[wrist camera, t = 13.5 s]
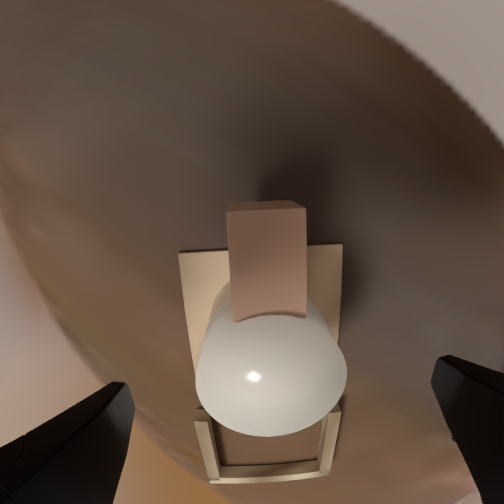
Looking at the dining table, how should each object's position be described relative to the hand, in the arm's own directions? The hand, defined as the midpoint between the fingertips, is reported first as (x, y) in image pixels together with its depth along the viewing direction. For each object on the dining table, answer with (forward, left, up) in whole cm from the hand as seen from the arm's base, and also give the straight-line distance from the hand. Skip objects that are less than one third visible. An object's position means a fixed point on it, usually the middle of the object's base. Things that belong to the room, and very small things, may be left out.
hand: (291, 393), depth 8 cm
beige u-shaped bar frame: (0, +15, -12) cm, 19 cm away
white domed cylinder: (0, +1, -12) cm, 12 cm away
